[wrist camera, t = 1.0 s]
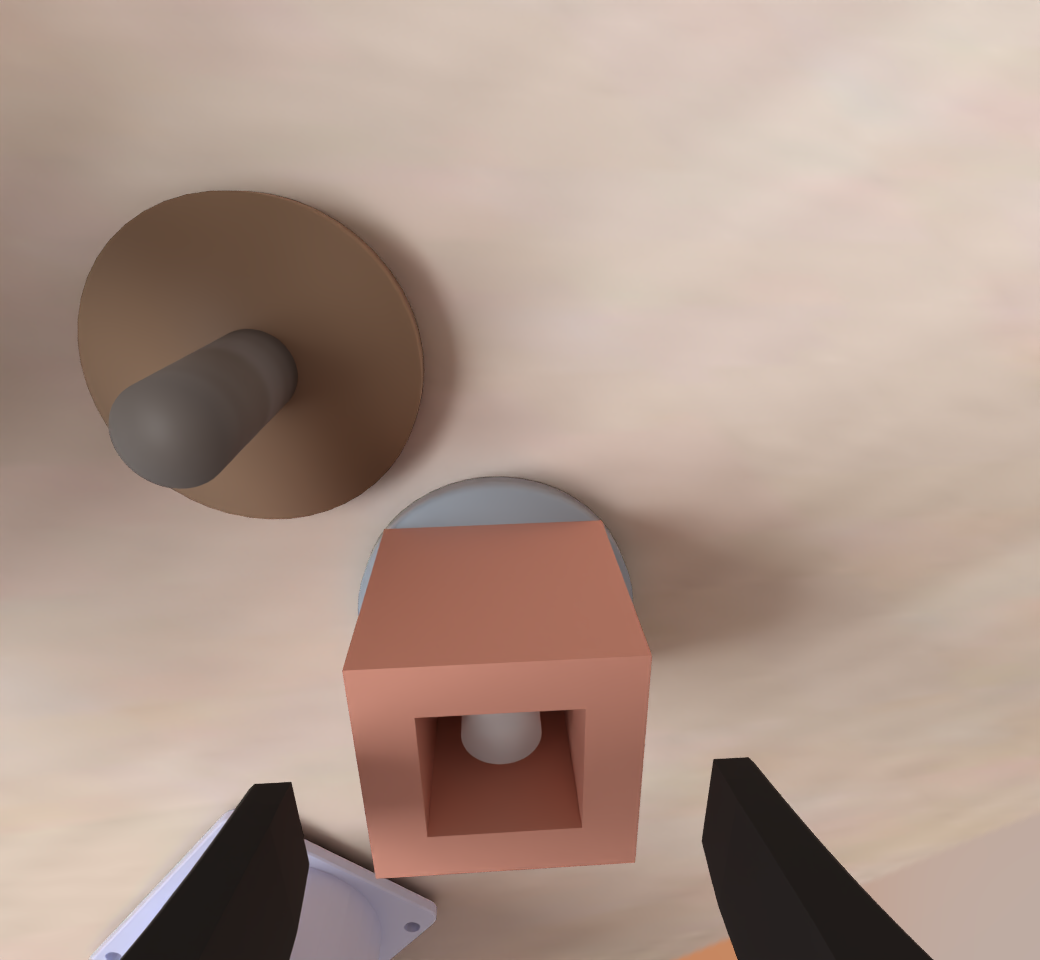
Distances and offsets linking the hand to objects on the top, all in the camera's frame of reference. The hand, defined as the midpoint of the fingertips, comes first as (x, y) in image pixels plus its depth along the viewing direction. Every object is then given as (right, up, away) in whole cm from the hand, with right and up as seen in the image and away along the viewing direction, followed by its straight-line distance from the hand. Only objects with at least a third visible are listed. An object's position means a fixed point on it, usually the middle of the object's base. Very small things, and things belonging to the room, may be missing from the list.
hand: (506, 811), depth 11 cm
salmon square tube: (0, +2, +5) cm, 6 cm away
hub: (-5, +8, +3) cm, 10 cm away
